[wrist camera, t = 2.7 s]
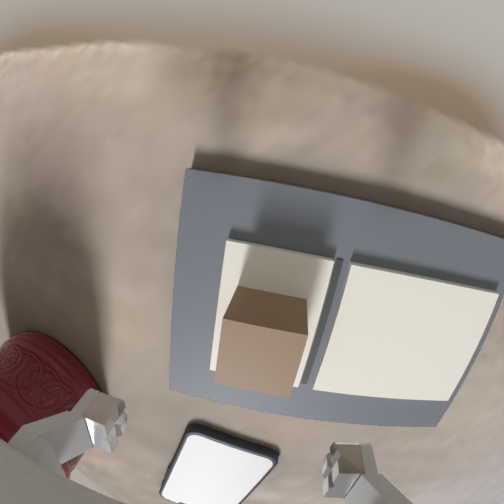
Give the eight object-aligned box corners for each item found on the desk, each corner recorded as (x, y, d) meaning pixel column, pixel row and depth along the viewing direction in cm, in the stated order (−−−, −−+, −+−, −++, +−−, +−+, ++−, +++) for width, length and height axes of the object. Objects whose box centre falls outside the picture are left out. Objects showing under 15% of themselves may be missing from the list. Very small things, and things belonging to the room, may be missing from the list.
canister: (29, 402, 29) (-50, 491, 12) (2, 311, 25) (-117, 399, 8) (117, 444, 28) (46, 567, 11) (100, 351, 24) (-30, 503, 7)
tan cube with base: (333, 258, 18) (343, 290, 14) (298, 382, 20) (296, 430, 16) (228, 238, 18) (207, 263, 14) (211, 365, 21) (193, 409, 17)
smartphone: (191, 414, 25) (160, 486, 30) (186, 426, 24) (156, 496, 28) (284, 446, 25) (228, 510, 30) (283, 459, 24) (226, 520, 28)
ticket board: (512, 240, 17) (524, 246, 15) (432, 418, 22) (437, 431, 20) (191, 168, 18) (181, 169, 17) (173, 381, 23) (166, 394, 22)
